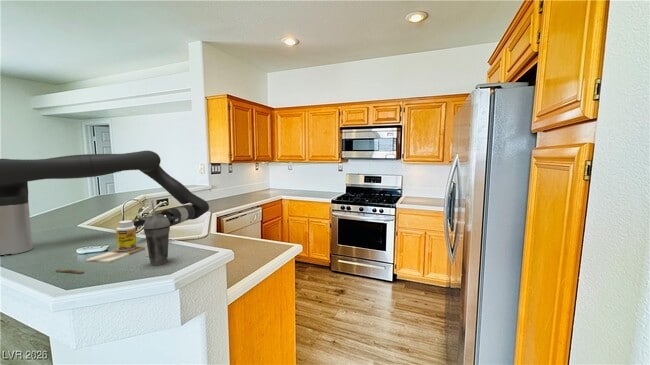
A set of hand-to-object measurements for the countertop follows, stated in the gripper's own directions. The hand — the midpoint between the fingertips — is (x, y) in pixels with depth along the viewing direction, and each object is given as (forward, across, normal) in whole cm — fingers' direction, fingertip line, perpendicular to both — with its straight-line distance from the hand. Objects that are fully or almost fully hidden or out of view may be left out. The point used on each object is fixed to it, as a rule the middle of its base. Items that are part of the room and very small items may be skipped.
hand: (143, 224), depth 102 cm
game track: (+14, 0, +8) cm, 16 cm away
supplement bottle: (+7, 0, +7) cm, 10 cm away
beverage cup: (+15, +20, +8) cm, 26 cm away
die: (+8, +12, +8) cm, 16 cm away
